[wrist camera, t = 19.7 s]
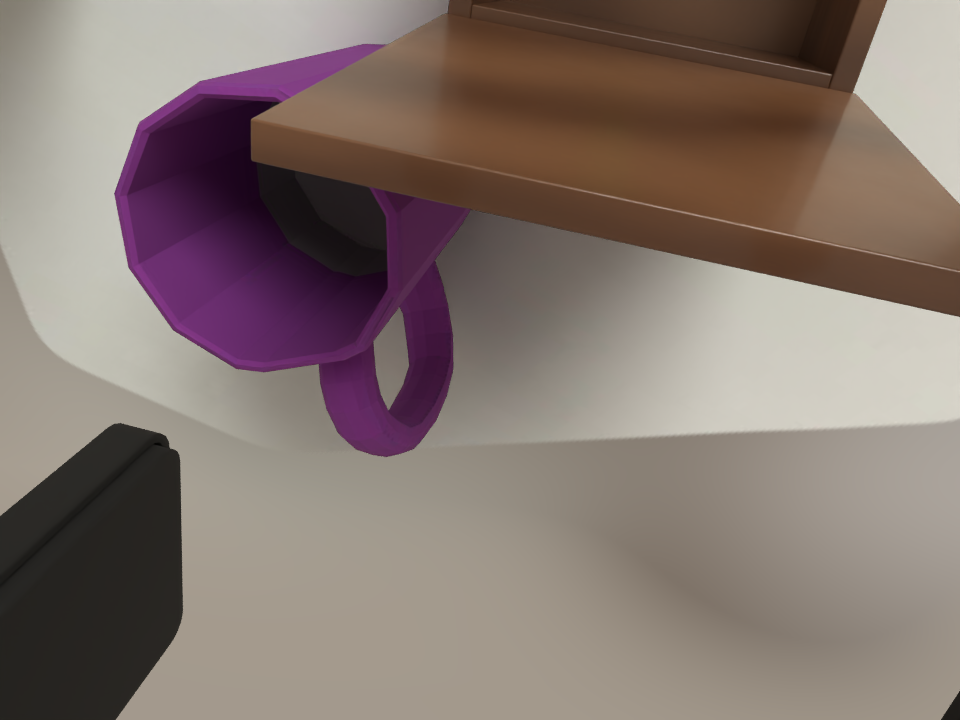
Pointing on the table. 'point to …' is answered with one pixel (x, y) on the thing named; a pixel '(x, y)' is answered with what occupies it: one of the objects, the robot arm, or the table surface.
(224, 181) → the mug
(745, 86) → the lid
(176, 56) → the table surface
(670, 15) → the box
